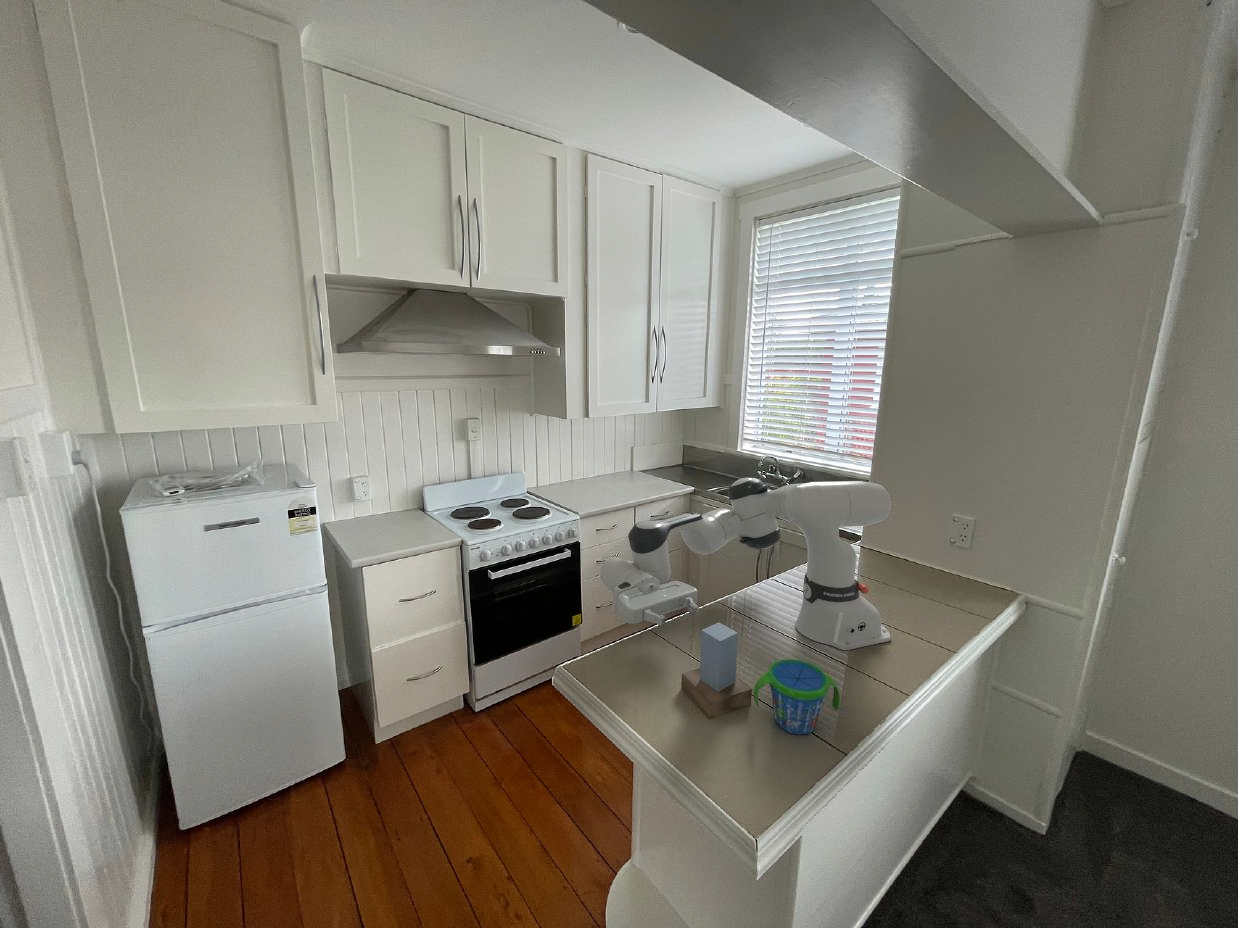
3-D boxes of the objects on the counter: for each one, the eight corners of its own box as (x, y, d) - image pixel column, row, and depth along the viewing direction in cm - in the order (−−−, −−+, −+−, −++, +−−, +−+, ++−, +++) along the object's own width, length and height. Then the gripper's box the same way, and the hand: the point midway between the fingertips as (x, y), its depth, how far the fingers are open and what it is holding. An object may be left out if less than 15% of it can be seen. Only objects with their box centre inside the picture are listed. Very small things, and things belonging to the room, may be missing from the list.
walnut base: (720, 678, 110) (721, 661, 109) (750, 706, 101) (752, 688, 100) (681, 690, 105) (681, 673, 105) (709, 721, 97) (710, 702, 96)
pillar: (717, 670, 106) (718, 622, 103) (735, 682, 102) (737, 632, 99) (699, 679, 103) (701, 630, 101) (718, 691, 99) (720, 641, 97)
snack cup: (755, 737, 92) (758, 687, 90) (748, 700, 102) (752, 654, 100) (845, 748, 90) (851, 697, 88) (830, 708, 100) (835, 662, 98)
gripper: (675, 593, 129) (713, 616, 118) (607, 614, 118) (642, 641, 107) (676, 570, 128) (715, 591, 116) (608, 589, 117) (642, 614, 105)
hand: (679, 615), depth 111 cm, fingers open, 8 cm apart
